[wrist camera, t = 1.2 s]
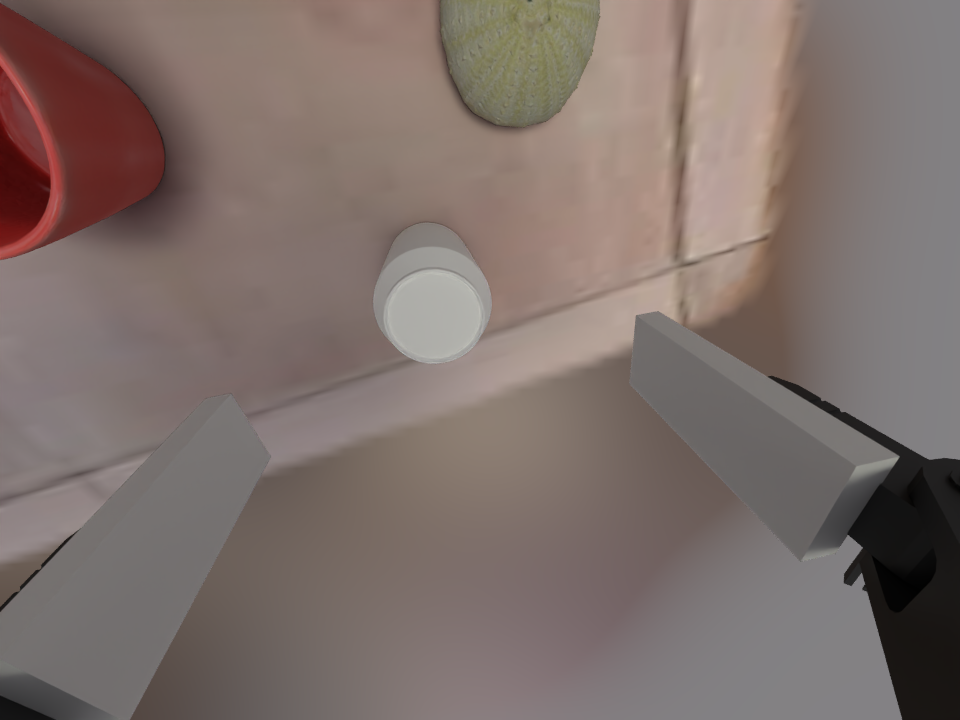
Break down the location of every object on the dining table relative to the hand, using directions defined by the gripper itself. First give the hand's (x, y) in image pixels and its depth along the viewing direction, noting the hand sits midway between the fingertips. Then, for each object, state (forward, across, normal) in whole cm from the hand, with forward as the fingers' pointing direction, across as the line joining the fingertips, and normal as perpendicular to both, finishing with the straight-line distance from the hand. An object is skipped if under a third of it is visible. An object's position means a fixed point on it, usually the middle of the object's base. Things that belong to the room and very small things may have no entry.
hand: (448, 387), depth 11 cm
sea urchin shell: (+18, +8, +13) cm, 23 cm away
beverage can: (+18, 0, 0) cm, 18 cm away
